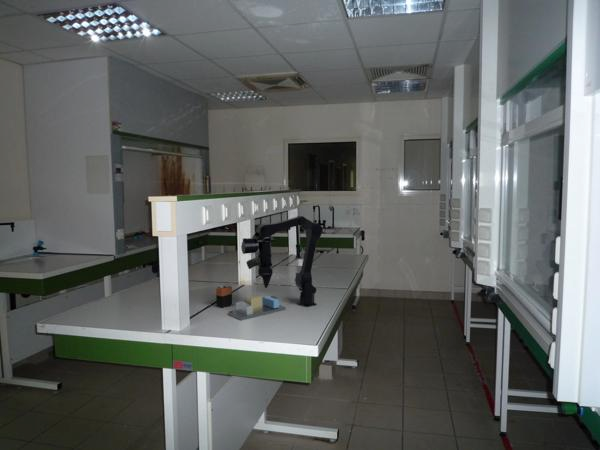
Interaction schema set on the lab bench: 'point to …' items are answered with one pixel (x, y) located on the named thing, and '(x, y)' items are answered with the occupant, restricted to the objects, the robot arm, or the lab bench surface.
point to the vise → (246, 311)
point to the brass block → (255, 302)
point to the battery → (224, 296)
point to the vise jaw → (270, 301)
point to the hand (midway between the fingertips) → (266, 285)
